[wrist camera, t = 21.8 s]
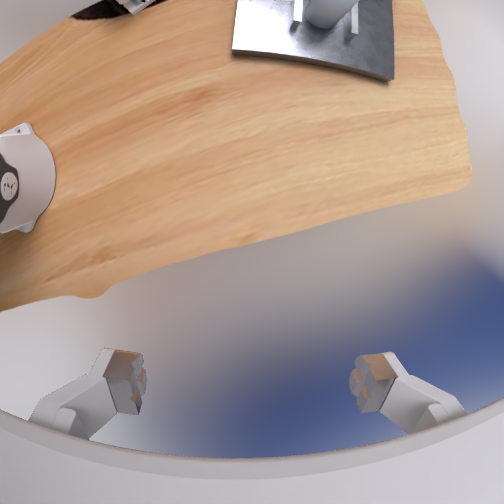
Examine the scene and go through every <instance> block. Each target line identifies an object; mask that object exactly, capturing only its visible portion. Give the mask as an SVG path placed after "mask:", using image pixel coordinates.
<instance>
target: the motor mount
mask: <svg viewBox="0 0 504 504" xmlns="http://www.w3.org/2000/svg"><path fill="white" fill-rule="evenodd" d="M309 1H310V0H238V4H237V12H236V20H235V29H234V38H233V47H232V54H235V55H249V56H260V57H269V58H278V59H285V60H292V61H298V62H305V63H310V64H316V65H321V66H326V67H331V68H335V69H340V70H344V71H348V72H353V73H357V74H360V75H364V76H368V77H372V78H375V79H379V80H382V81H385V82H388V81H391V80H394V30H393V13H392V1H391V0H360V1H359V2H358V3H357V4H356V5H354V6H353V7H352V8H351V9H350V10H349V11H348V12H347V13H346V14H345V15H344V16H343V17H342V18H341V19H340V21H339V22H338V23H337V24H336V25H335V26H333V27H331V28H326V29H325V28H319V27H316V26H314V25H313V24H311V23H310V22H309V21H308V20H307V18H306V16H305V8H306V6H307V4H308V3H309Z"/></svg>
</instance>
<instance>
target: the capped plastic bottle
mask: <svg viewBox="0 0 504 504" xmlns="http://www.w3.org/2000/svg"><path fill="white" fill-rule="evenodd" d="M359 1H360V0H310V1H309V3H308V4H307V6H306V8H305V16H306V18H307V20H308V21H309V22H310V23H311V24H313V25H314V26H316V27H319V28H325V29H326V28H331V27H333V26H335V25H336V24H337V23H338V22H339V21H340V19H341V18H342V17H343V16H344V15H345V14H346V13H347V12H348V11H349V10H350V9H351V8H352V7H353V6H354V5H356V4H357V3H358V2H359Z"/></svg>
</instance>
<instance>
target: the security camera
mask: <svg viewBox="0 0 504 504" xmlns="http://www.w3.org/2000/svg"><path fill="white" fill-rule="evenodd" d="M145 1H146V2H145V3H144V2H141V0H117V2H118V3H119V4H123V5H124V6H125V7H126V9H127V10H128V11H129V12H130V13H131V14H132V15H135V14H137V13H138V12H139V11H141V10H142V9H144V8H145V7H147V6H148V5H149V4H151V3H152V2H154V1H156V0H145Z"/></svg>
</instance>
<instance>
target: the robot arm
mask: <svg viewBox="0 0 504 504" xmlns="http://www.w3.org/2000/svg"><path fill="white" fill-rule="evenodd" d="M19 132H20V133H19ZM55 179H56V174H55V165H54V160H53V157H52V154H51V152H50V150H49V148H48V147H47V145H46V144H45V143H44V142H43V141H42V140H41V139H40V138H38V137H37V136H36V135H35V133H34V131H33V129H32V127H31V125H30V124H29V123H22V124H20V125H18V126H16V127H14V128H12V129H10V130H8V131H6V132H4V133H3V134H1V135H0V232H1V233H6V232H9V231H11V230H14V229H16V230H19V231H22V232H30V231H31V230H32V229H33V227H34V225H35V222H36V219H37V218H38V217H39V215H40V214H41V213H43V212H44V210H45V209H46V208H47V206H48V205H49V203H50V201H51V198H52V196H53V192H54V188H55ZM143 362H144V360H143V355H142V354H141V353H136V352H130V351H122V350H115V349H109V348H103V349H102V350H101V352H100V354H99V356H98V358H97V359H96V361H95V363H94V365H93V367H92V369H91V371H90V373H89V375H87V374H85V375H83V376H81V377H79V378H78V379H76V380H74V381H72V382H71V383H69V384H67V385H65V386H63V387H62V388H60V389H58V390H56V391H54V392H53V393H51V394H49V395H47V396H45V397H43V398H42V399H40V400H39V402H38V404H37V406H36V408H35V409H34V411H33V413H32V415H31V417H30V419H29V420H28V421H27V420H24V419H22V418H19V417H17V416H14V415H12V414H9V413H7V412H5V411H2V410H0V504H504V397H503V398H501V399H499V400H497V401H495V402H493V403H491V404H489V405H486V406H484V407H482V408H480V409H478V410H475V411H473V412H471V413H468V414H467V413H466V412H465V410H464V409H463V407H462V406H461V405H460V403H459V402H458V400H457V399H456V398H455V397H454V396H452V395H450V394H448V393H446V392H444V391H442V390H440V389H438V388H436V387H434V386H432V385H431V384H429V383H427V382H425V381H423V380H421V379H419V378H417V377H415V376H413V375H410V376H409V374H408V373H407V372H406V370H405V369H404V367H403V366H402V365H401V363H400V362H399V360H398V359H397V358H396V356H395V355H394V353H392V352H385V353H380V354H371V355H361V356H358V357H357V358H356V361H355V366H356V368H355V369H354V370H353V371H352V372H351V375H350V378H349V386H350V390H351V392H352V394H353V395H355V396H356V397H357V400H356V403H357V405H358V407H359V410H360V412H361V413H366V412H372V411H379V410H380V412H381V413H382V414H384V415H385V416H386V417H387V418H389V419H390V420H391V421H392V422H394V423H395V424H396V425H398V426H399V427H400V428H402V429H403V430H404V431H405V432H407V433H408V435H405V436H401V437H398V438H393V439H390V440H386V441H382V442H378V443H373V444H368V445H363V446H358V447H353V448H348V449H342V450H336V451H330V452H323V453H316V454H307V455H296V456H285V457H269V458H206V457H190V456H178V455H169V454H160V453H153V452H146V451H139V450H133V449H127V448H122V447H116V446H112V445H107V444H103V443H99V442H94V441H90V440H89V438H90V437H91V436H92V435H93V434H94V433H96V432H97V430H99V429H100V428H101V427H102V426H103V425H105V424H106V423H107V422H108V421H109V420H110V419H111V418H112V417H113V416H115V415H116V414H117V412H119V413H126V414H133V415H139V412H140V408H141V404H142V400H141V396H142V395H143V394H144V393H145V389H146V372H145V370H144V369H143V368H142V365H143Z"/></svg>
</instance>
